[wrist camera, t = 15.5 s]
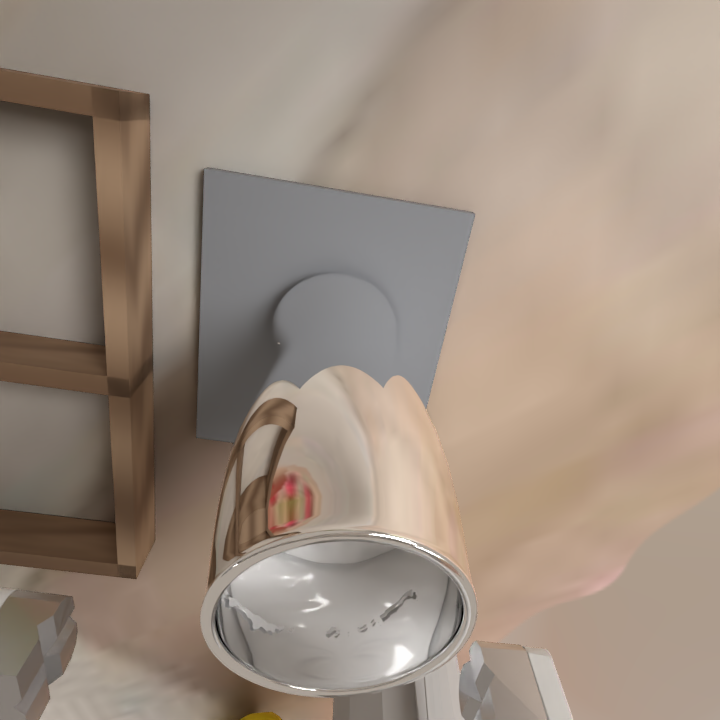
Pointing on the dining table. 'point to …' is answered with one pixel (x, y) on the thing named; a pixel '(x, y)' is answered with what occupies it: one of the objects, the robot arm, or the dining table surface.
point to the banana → (262, 716)
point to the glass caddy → (96, 362)
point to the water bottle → (408, 699)
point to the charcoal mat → (307, 259)
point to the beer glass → (337, 513)
